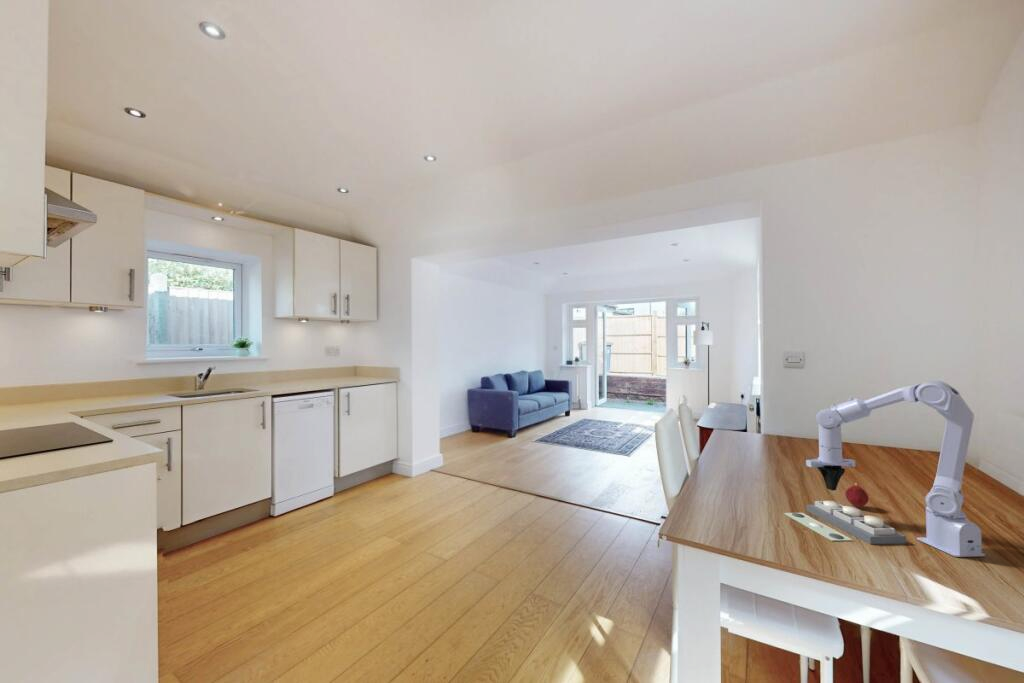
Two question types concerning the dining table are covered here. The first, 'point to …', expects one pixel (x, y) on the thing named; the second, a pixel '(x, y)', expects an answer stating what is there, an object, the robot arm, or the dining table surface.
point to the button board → (856, 525)
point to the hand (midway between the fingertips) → (831, 489)
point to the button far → (831, 504)
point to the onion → (856, 496)
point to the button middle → (851, 511)
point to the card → (818, 527)
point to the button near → (873, 521)
